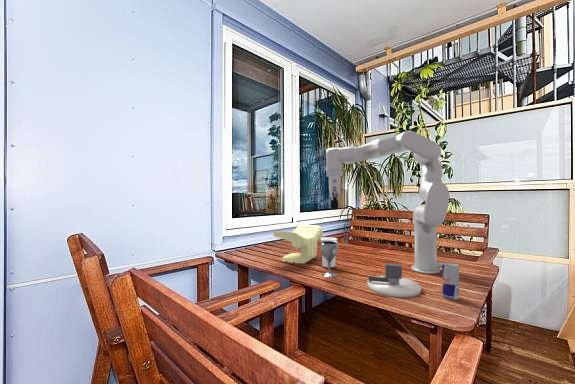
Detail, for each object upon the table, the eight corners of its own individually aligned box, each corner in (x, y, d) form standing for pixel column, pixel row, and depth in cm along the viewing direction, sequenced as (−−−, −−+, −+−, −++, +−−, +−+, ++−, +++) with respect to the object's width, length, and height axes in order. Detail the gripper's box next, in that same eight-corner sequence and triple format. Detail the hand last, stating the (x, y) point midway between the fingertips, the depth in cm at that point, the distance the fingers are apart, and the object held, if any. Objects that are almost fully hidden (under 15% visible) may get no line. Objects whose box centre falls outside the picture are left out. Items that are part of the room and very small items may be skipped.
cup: (340, 267, 141) (340, 238, 141) (328, 269, 137) (328, 240, 137) (329, 263, 148) (329, 236, 148) (317, 266, 143) (317, 238, 143)
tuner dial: (411, 280, 120) (411, 276, 120) (429, 298, 100) (429, 293, 100) (364, 278, 123) (364, 274, 123) (371, 296, 103) (371, 291, 103)
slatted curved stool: (300, 268, 139) (300, 233, 139) (273, 264, 147) (273, 230, 147) (322, 255, 166) (322, 225, 166) (298, 252, 173) (298, 224, 173)
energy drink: (438, 294, 104) (438, 262, 103) (452, 294, 104) (452, 262, 104) (448, 300, 98) (448, 266, 98) (462, 299, 99) (462, 266, 99)
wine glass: (334, 278, 123) (333, 244, 123) (317, 275, 127) (317, 243, 127) (340, 274, 130) (340, 241, 130) (325, 271, 134) (324, 240, 134)
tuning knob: (401, 281, 113) (400, 264, 112) (402, 284, 108) (401, 267, 108) (368, 278, 116) (368, 261, 116) (368, 282, 112) (368, 264, 112)
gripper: (343, 172, 128) (343, 209, 129) (340, 174, 146) (341, 207, 146) (326, 172, 129) (327, 209, 129) (326, 174, 146) (326, 207, 147)
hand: (334, 208), depth 138 cm, fingers open, 9 cm apart
